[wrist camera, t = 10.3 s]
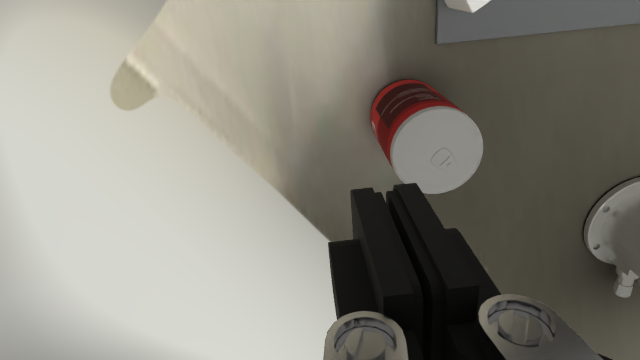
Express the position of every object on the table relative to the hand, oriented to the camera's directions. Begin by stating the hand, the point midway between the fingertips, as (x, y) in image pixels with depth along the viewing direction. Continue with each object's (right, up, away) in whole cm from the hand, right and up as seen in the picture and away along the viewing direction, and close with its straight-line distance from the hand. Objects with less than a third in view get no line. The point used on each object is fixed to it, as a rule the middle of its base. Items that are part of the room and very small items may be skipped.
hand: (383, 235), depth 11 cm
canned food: (+7, +9, +34) cm, 35 cm away
